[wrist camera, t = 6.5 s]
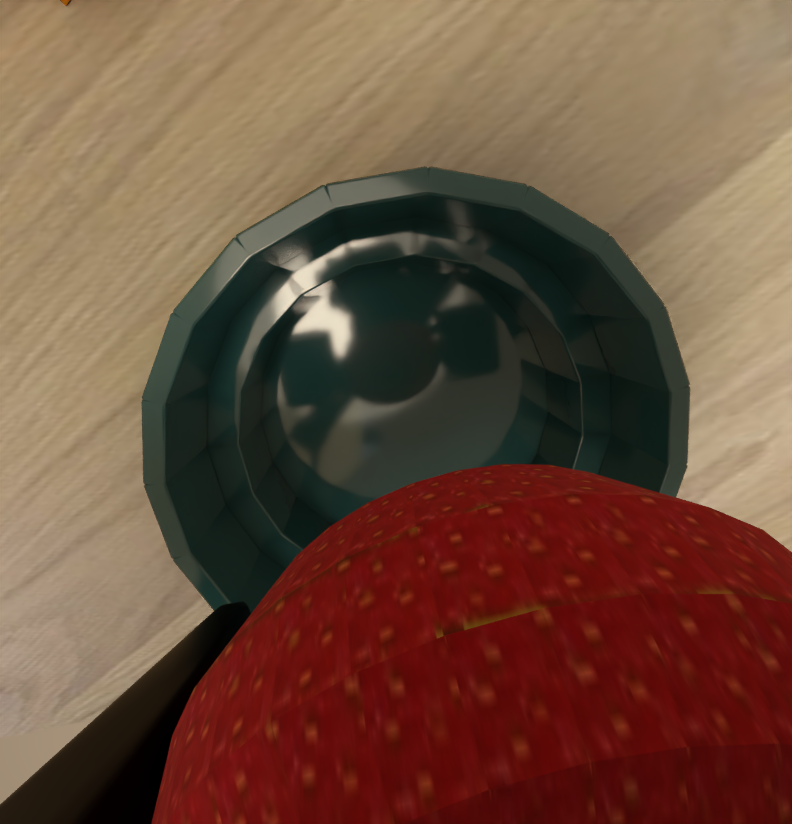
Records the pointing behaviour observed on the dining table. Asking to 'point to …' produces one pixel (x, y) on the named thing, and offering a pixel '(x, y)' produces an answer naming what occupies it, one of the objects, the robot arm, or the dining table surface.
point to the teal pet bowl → (398, 366)
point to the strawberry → (504, 666)
